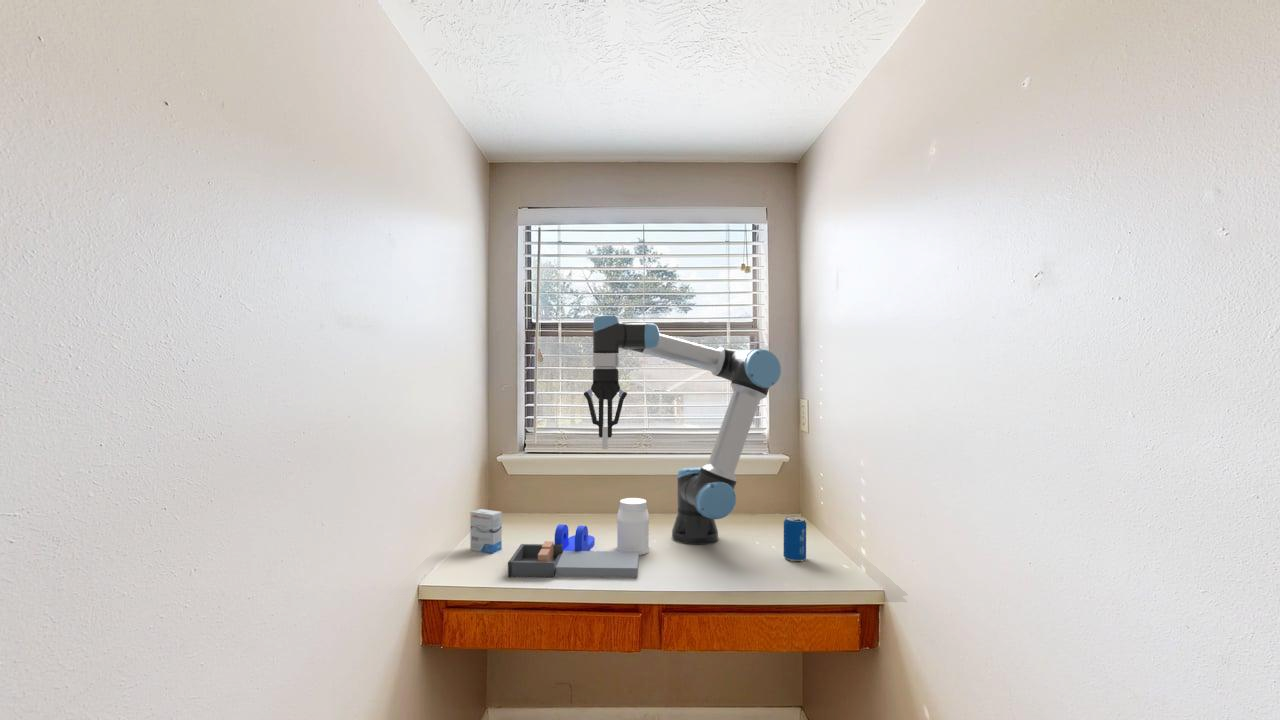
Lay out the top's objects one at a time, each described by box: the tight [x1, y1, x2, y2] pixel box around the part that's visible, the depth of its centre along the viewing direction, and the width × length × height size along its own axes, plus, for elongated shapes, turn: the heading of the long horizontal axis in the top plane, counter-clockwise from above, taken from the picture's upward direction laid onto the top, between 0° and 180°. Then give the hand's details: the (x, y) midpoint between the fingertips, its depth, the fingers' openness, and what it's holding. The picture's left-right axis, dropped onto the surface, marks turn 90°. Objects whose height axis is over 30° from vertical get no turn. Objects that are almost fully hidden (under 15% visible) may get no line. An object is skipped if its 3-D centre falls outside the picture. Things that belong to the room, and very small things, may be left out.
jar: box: [616, 497, 650, 556], centre depth 187 cm, size 12×10×15 cm
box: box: [507, 543, 563, 579], centre depth 170 cm, size 12×16×4 cm
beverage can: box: [783, 515, 807, 562], centre depth 179 cm, size 6×6×12 cm
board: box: [555, 550, 640, 578], centre depth 170 cm, size 22×14×2 cm, turn 89°
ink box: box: [469, 508, 503, 554], centre depth 186 cm, size 8×5×12 cm, turn 65°
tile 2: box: [538, 549, 550, 562], centre depth 167 cm, size 5×5×2 cm
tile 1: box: [542, 540, 555, 562], centre depth 174 cm, size 5×5×2 cm
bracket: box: [554, 523, 596, 551], centre depth 187 cm, size 18×8×9 cm, turn 169°
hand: (605, 448), depth 178 cm, fingers closed
